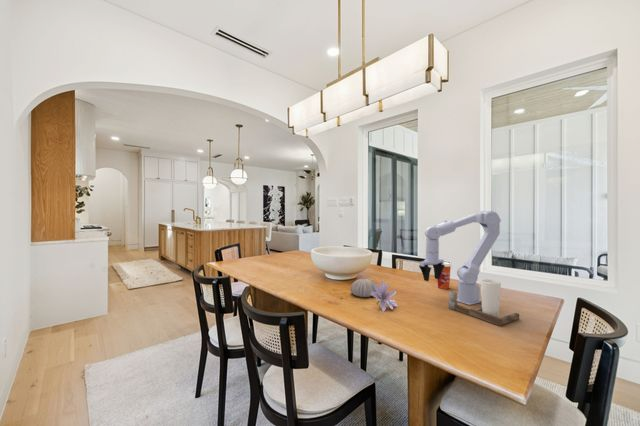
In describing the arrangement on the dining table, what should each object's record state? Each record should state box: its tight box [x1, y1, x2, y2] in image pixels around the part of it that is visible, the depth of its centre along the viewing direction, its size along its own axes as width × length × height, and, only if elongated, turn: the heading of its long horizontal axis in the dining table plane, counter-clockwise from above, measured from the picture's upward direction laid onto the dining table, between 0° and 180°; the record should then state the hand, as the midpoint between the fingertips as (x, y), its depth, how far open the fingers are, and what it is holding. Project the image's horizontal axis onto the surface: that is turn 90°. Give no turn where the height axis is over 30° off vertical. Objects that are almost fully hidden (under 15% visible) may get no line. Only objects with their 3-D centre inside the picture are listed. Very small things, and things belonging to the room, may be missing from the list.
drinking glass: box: [480, 278, 502, 318], centre depth 108 cm, size 7×7×15 cm
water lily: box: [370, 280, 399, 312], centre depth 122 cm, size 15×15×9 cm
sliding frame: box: [448, 290, 520, 327], centre depth 114 cm, size 15×22×7 cm
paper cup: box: [436, 261, 452, 290], centre depth 151 cm, size 8×8×14 cm
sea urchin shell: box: [349, 278, 377, 298], centre depth 138 cm, size 13×14×8 cm
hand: (431, 279), depth 132 cm, fingers open, 7 cm apart
